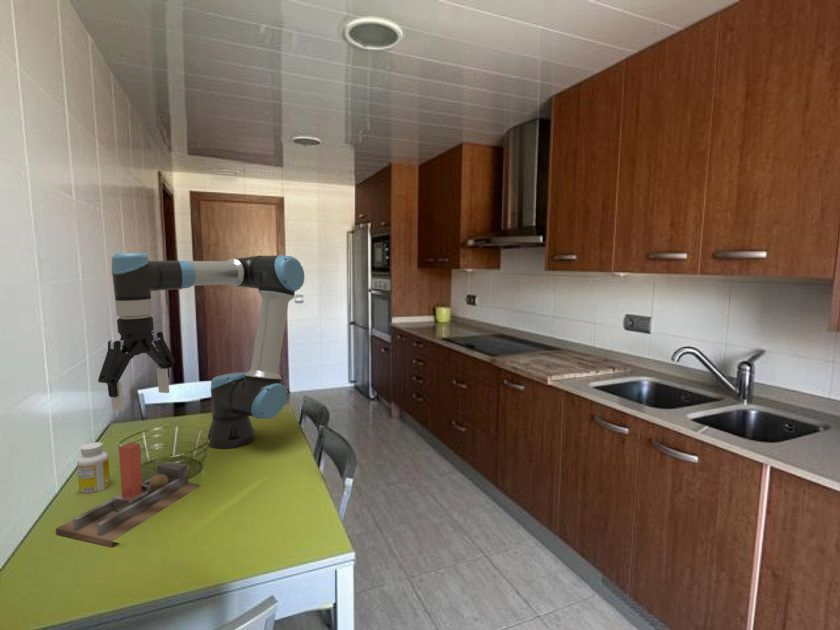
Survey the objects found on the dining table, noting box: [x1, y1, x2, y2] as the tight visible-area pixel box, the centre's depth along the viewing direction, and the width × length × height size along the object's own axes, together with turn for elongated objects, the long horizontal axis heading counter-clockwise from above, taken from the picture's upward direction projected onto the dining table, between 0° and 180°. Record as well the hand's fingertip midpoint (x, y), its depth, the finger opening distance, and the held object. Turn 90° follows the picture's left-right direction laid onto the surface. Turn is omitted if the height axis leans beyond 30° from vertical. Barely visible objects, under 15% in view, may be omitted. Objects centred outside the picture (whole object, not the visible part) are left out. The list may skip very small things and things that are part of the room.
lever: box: [112, 442, 151, 511], centre depth 109 cm, size 6×5×15 cm
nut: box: [149, 474, 169, 492], centre depth 117 cm, size 4×4×4 cm
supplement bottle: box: [76, 441, 111, 494], centre depth 118 cm, size 7×7×13 cm
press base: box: [55, 461, 202, 549], centre depth 110 cm, size 26×16×6 cm, turn 164°
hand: (142, 400), depth 113 cm, fingers open, 13 cm apart
